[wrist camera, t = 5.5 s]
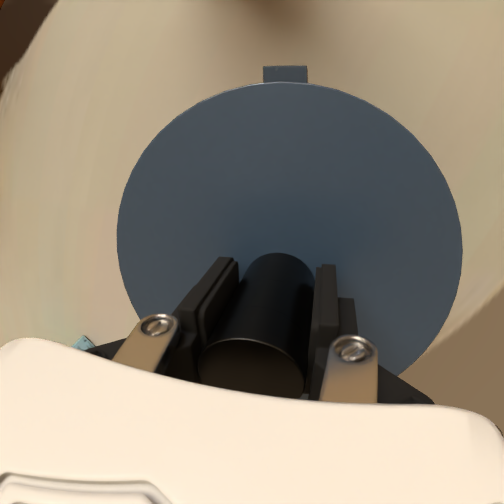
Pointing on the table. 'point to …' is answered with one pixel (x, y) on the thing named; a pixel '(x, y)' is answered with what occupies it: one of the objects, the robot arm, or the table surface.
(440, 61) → the table surface
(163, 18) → the table surface
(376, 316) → the lid
